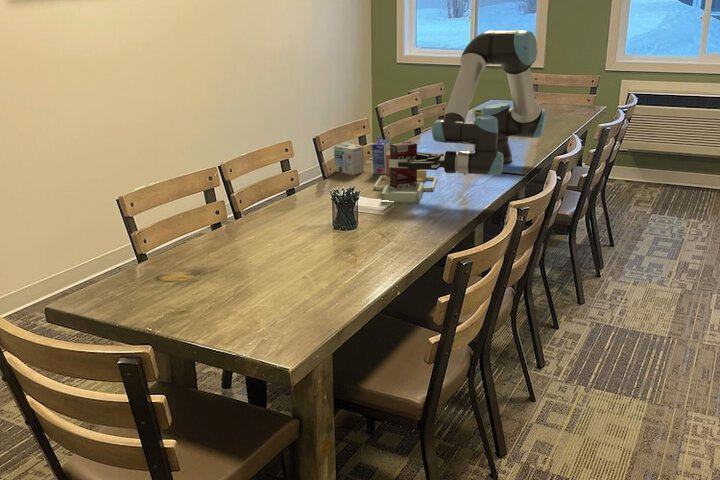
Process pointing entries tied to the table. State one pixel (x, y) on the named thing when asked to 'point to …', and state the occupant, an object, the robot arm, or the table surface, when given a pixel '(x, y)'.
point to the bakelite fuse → (387, 164)
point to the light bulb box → (349, 158)
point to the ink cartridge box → (380, 155)
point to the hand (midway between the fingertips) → (392, 160)
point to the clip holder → (420, 178)
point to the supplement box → (403, 176)
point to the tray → (403, 194)
